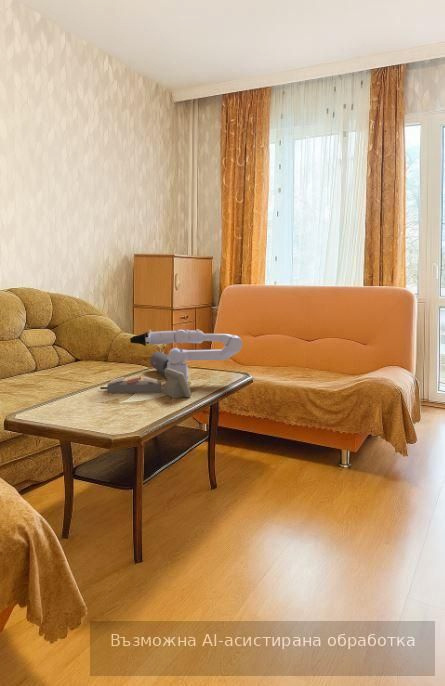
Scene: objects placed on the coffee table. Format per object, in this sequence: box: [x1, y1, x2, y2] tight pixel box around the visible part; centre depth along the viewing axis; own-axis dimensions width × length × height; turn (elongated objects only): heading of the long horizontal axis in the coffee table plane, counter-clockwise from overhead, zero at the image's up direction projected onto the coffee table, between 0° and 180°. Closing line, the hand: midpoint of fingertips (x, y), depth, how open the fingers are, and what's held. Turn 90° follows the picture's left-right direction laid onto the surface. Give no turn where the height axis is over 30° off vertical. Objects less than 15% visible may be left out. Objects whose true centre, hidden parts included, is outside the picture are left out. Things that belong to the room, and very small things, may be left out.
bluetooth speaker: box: [149, 351, 169, 377], centre depth 261 cm, size 23×9×10 cm, turn 23°
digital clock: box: [163, 368, 192, 399], centre depth 217 cm, size 16×9×11 cm, turn 20°
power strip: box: [99, 379, 162, 394], centre depth 226 cm, size 26×8×4 cm, turn 89°
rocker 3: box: [142, 375, 158, 383], centre depth 224 cm, size 6×3×1 cm, turn 90°
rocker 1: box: [109, 376, 126, 383], centre depth 224 cm, size 6×3×1 cm, turn 88°
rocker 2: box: [125, 376, 142, 383], centre depth 224 cm, size 6×3×1 cm, turn 88°
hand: (131, 339), depth 239 cm, fingers open, 7 cm apart
